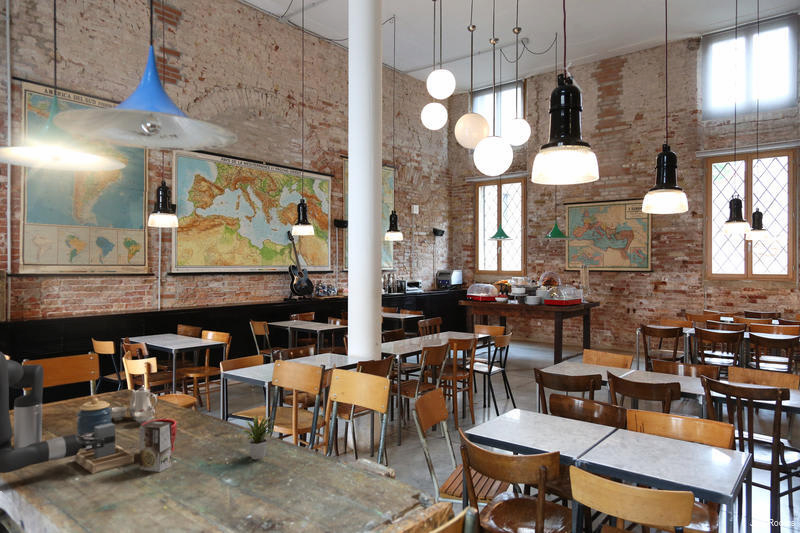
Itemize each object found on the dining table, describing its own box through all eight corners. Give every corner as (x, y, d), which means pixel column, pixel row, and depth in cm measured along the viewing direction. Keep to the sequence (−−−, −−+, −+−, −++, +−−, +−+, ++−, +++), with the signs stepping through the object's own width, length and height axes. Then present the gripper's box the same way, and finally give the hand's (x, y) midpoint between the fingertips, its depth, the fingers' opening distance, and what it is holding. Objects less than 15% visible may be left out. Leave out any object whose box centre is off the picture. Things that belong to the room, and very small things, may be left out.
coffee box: (172, 465, 189) (172, 422, 189) (159, 472, 183) (160, 427, 183) (151, 463, 192) (152, 420, 192) (138, 469, 186) (139, 425, 186)
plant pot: (132, 456, 198) (132, 425, 198) (161, 446, 210) (162, 416, 210) (154, 462, 192) (154, 430, 192) (183, 451, 204) (184, 421, 204)
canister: (118, 435, 223) (118, 394, 223) (98, 445, 210) (98, 402, 210) (90, 433, 224) (91, 393, 224) (68, 444, 212) (69, 401, 212)
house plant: (265, 466, 189) (266, 422, 189) (231, 463, 192) (232, 420, 192) (282, 453, 203) (282, 411, 203) (250, 450, 206) (250, 409, 206)
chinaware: (100, 425, 242) (97, 391, 240) (129, 412, 258) (127, 379, 256) (147, 431, 233) (144, 396, 231) (174, 417, 249) (171, 384, 247)
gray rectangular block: (93, 461, 192) (94, 426, 192) (111, 456, 196) (111, 423, 196) (97, 463, 189) (97, 428, 189) (114, 459, 194) (115, 424, 194)
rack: (74, 461, 193) (74, 453, 193) (114, 451, 204) (114, 443, 204) (93, 473, 182) (93, 465, 182) (134, 462, 192) (134, 454, 192)
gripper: (68, 441, 177) (117, 430, 190) (54, 432, 186) (102, 422, 199) (67, 463, 177) (117, 450, 190) (54, 453, 186) (102, 441, 199)
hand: (110, 436), depth 194 cm, fingers open, 8 cm apart
